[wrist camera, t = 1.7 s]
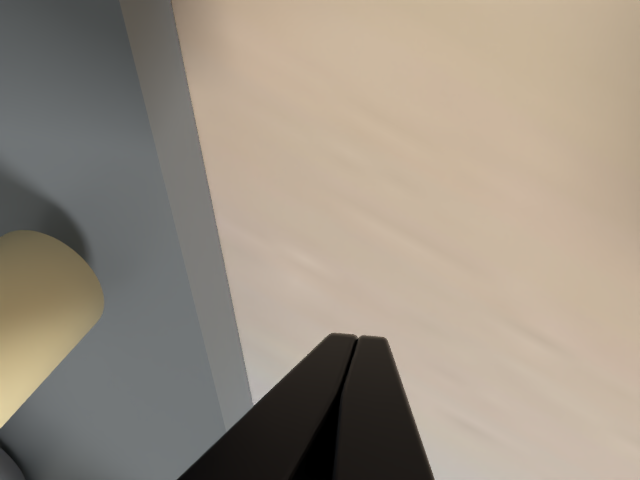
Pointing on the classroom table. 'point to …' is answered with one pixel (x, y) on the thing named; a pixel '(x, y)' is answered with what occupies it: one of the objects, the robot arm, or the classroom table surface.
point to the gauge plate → (118, 241)
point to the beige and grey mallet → (39, 316)
